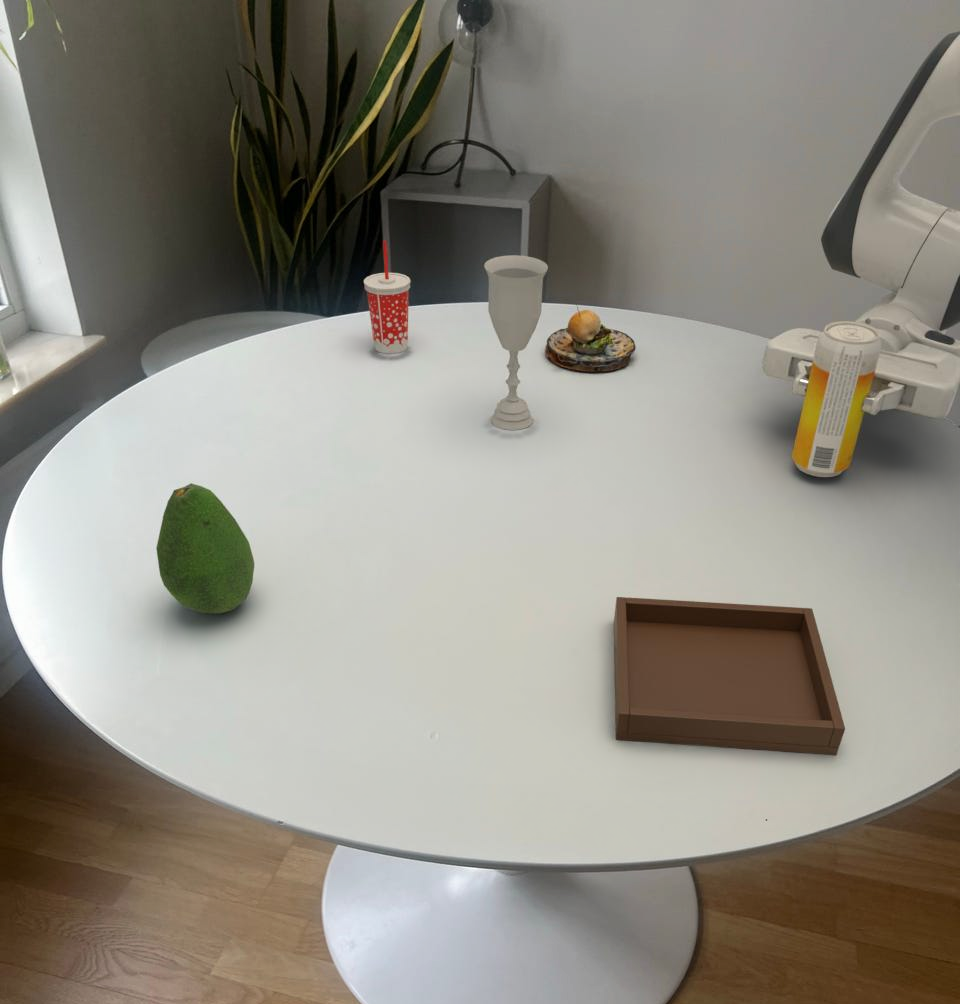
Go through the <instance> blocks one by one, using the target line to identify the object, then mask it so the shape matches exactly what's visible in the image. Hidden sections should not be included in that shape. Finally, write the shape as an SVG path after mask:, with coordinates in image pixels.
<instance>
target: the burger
mask: <svg viewBox="0 0 960 1004" xmlns="http://www.w3.org/2000/svg"><path fill="white" fill-rule="evenodd" d="M575 304H576V308H577V312H575V313H574V314H572V316H571V317H570V319H569V321H568V324H567V327H565V328H560V329H558V330H556V331H555V332H553V333H551V335H549V337H548V338H547V340H546V345H545V356H546V357H547V358H550V361H551V362H552V363H553V364H555V365H557V366H560V367H562V368H566V369H570V370H575V371H581V372H598V373H599V372H610V371H615V370H619V369H621V368H622V367H627V366H628V365H629V363H630V361H631V360H630V359H631V358H632V355H633V353H634V352H635V351H636V349H637V347H636V343H635V340H634V339H633V338H632V337H631V336H629V335H628V334H627V333H624V332H623V331H620V330H617V329H612V328H607V327H606V326H605V325H604V324H602V321H601V319H600V315H598V314H597V313H596V312H594V311H592V310H590V309H584V310H579V307H578V304H577V303H575Z"/></svg>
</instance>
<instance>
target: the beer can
mask: <svg viewBox="0 0 960 1004" xmlns="http://www.w3.org/2000/svg"><path fill="white" fill-rule="evenodd" d="M821 332H822V333H821V335H820V336H819V337H818V341H817V345H816V350H815V354H814V359H813V363H812V368H811V372H810V377H809V381H808V386H807V390H806V395H805V396H804V400H803V405H802V407H801V413H800V417H799V422H798V427H797V431H796V436H795V440H794V443H793V449H792V454H791V457H792V460H793V462H795V466H796V467H797V468H798V470H799V471H801V472H803V473H804V474H806V475H809V476H814V477H818V478H831V477H836V476H839V475H840V474H842V473H843V472H844V471H845V470H847V469H849V467H850V466H851V464H852V459H853V455H854V452H855V447H856V444H857V441H858V436H859V433H860V429H861V425H862V422H863V417H864V415H865V412H862V411H861V407H862V406H863V400H864V398H865V396H866V395H868V393H869V392H870V388H871V384H872V380H873V377H874V373H875V369H876V365H877V362H878V358H879V354H880V350H881V347H882V346H881V341H880V332H879V331H878V330H877V329H875V328H874V327H872V326H869V325H866V324H863V323H858V322H855V321H847V320H846V321H845V320H843V321H841V320H840V321H834V322H830V323H828V324H827V325H825V327H824V328H823V331H821Z"/></svg>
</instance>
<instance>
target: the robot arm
mask: <svg viewBox="0 0 960 1004" xmlns="http://www.w3.org/2000/svg"><path fill="white" fill-rule="evenodd" d="M957 116H960V30H958V31H954V32H951V33H948V34H946V35H945V36H944V37H942V39H941V40H940V41H939V42H938V43H937V44H936V46H935V47H934V48H933V49H932V50H931V51H930V52H929V53H928V55H927V56H926V58H925V59H924V60H923V61H922V63H921V65H920V66H919V67H918V69H917V71H916V72H915V74H914V75H913V77H912V79H911V81H910V82H909V83H908V85H907V87H906V89H905V90H904V92H903V94H902V95H901V97H900V99H899V100H898V102H897V103H896V105H895V107H894V108H893V110H892V111H891V114H890V115H889V117H888V119H887V120H886V123H885V124H884V126H883V128H882V129H881V131H880V133H879V134H878V137H877V138H876V140H875V142H874V144H873V145H872V147H871V148H870V150H869V152H868V154H867V156H866V157H865V159H864V161H863V163H862V165H861V166H860V168H859V170H858V171H857V173H856V175H855V177H854V179H853V180H852V182H851V183H850V185H849V187H848V188H847V189H846V191H845V192H844V193H843V195H841V196H840V198H839V199H838V200H837V203H836V204H835V205H834V207H833V208H832V209H831V212H830V213H829V215H828V217H827V219H826V220H825V221H826V222H825V224H824V227H823V231H822V235H821V237H820V243H821V246H822V247H821V248H822V250H823V253H824V256H825V258H826V260H827V263H828V264H829V266H830V268H831V270H833V271H835V272H840V273H841V274H842V273H843V274H846V275H848V276H852V277H854V278H858V279H863V280H866V281H869V282H871V283H872V284H875V285H878V286H880V287H882V288H884V289H886V290H889V292H887V293H886V294H884V295H883V296H882V297H881V298H879V299H878V300H877V301H876V302H874V303H873V305H871V307H870V308H869V309H868V310H867V311H865V312H864V313H863V314H861V315H860V316H859V317H858V318H857V319H856V320H854V322H858V323H863V324H866V325H869V326H872V327H874V328H875V329H877V330H878V331H879V332H880V341H881V346H882V347H881V350H880V354H879V358H878V362H877V365H876V369H875V373H874V377H873V380H872V384H871V388H870V392H869V393H868V395H866V396H865V398H864V400H863V406H862V407H861V411H862V412H864V414H865V413H866V414H870V415H872V416H876V415H877V414H878V413H879V412H880V411H886V410H893V409H896V410H899V411H904V412H907V413H910V414H915V415H920V416H923V417H927V418H931V419H943V418H946V417H947V416H948V415H949V413H950V411H951V409H952V406H953V403H954V400H955V398H956V394H957V391H958V388H959V385H960V340H959V339H957V338H954V337H951V336H949V335H946V333H947V331H948V329H950V328H952V327H954V326H956V325H957V324H959V323H960V211H959V210H958V209H955V208H952V207H948V206H945V205H942V204H939V203H937V202H935V201H932V200H930V199H927V198H924V197H922V196H919V195H917V194H915V193H912V192H909V191H908V190H907V189H905V188H904V187H903V185H902V184H901V182H900V178H901V176H902V174H903V173H904V171H905V170H906V167H907V166H908V164H909V163H910V161H911V159H912V158H913V156H914V155H915V153H916V151H917V150H918V148H919V147H920V145H921V143H922V141H923V140H924V138H925V137H926V135H927V133H928V132H929V131H930V129H931V127H932V126H933V124H935V123H937V122H939V121H941V120H944V119H947V118H951V117H957ZM822 332H823V331H821V330H817V329H812V328H806V327H796V328H791V329H788V330H787V331H784V332H782V333H780V334H778V335H777V336H775V337H773V338H771V339H770V340H769V341H768V342H767V343H766V345H765V349H764V352H763V356H762V364H761V370H762V371H763V373H764V374H765V376H768V377H770V378H775V379H780V380H783V381H787V382H790V383H793V386H792V390H791V393H792V394H793V395H798V396H801V397H805V395H806V390H807V386H808V381H809V377H810V372H811V368H812V363H813V359H814V354H815V350H816V345H817V341H818V337H819V336H820V335H821V333H822Z"/></svg>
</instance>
